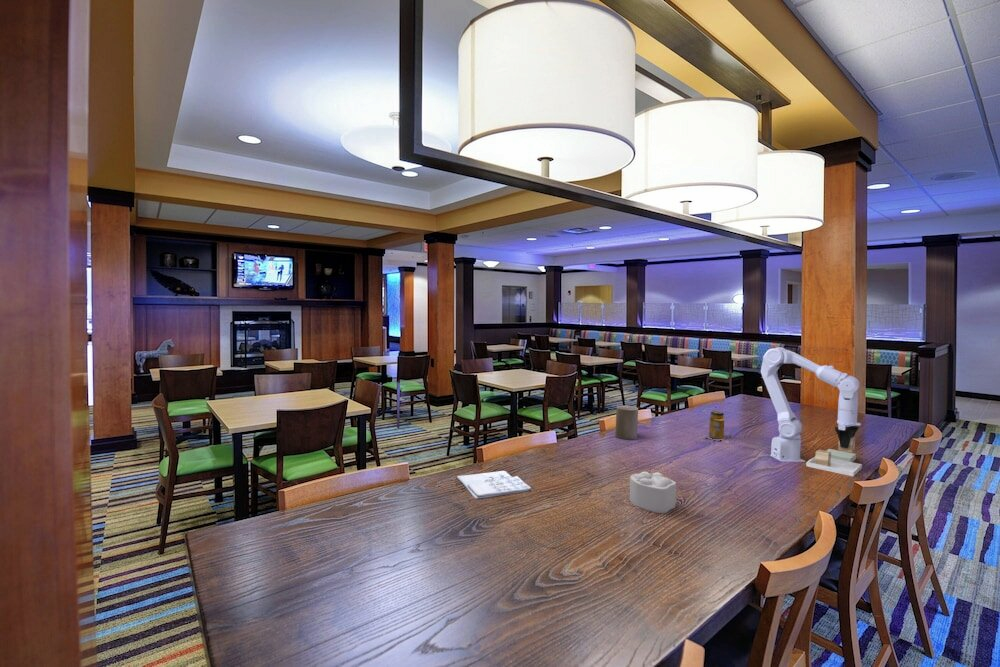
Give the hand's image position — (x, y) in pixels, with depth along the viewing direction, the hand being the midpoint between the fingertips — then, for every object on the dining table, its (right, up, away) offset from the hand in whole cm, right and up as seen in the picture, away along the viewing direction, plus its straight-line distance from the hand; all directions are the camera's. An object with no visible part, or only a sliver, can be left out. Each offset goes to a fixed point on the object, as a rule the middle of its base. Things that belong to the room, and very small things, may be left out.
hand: (845, 446), depth 173 cm
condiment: (-29, -7, +43) cm, 52 cm away
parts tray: (-3, -9, +2) cm, 9 cm away
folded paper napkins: (-129, -10, -16) cm, 130 cm away
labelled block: (0, -1, 0) cm, 1 cm away
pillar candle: (-69, -6, +44) cm, 82 cm away
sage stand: (+7, -8, +13) cm, 17 cm away
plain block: (-5, -8, +5) cm, 11 cm away
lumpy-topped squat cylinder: (-81, -10, -30) cm, 87 cm away
